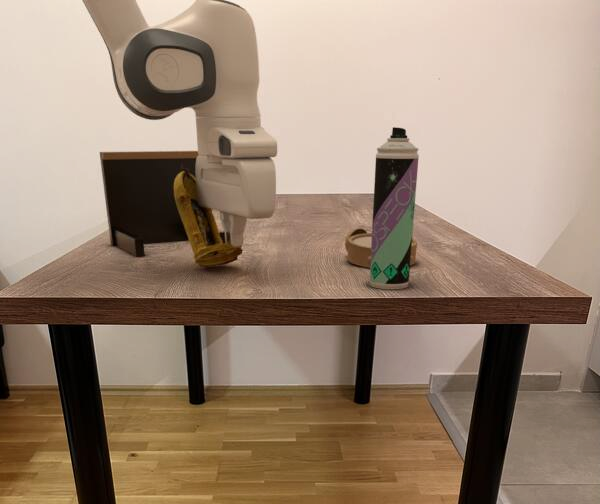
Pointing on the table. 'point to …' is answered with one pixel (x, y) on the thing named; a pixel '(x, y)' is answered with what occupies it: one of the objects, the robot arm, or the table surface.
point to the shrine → (201, 225)
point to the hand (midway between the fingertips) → (234, 244)
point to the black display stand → (144, 197)
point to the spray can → (393, 211)
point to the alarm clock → (366, 248)
